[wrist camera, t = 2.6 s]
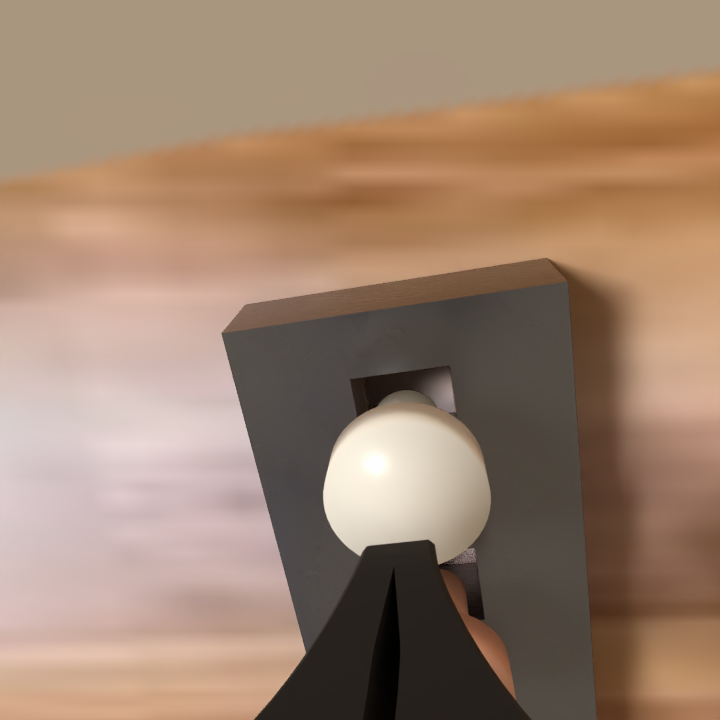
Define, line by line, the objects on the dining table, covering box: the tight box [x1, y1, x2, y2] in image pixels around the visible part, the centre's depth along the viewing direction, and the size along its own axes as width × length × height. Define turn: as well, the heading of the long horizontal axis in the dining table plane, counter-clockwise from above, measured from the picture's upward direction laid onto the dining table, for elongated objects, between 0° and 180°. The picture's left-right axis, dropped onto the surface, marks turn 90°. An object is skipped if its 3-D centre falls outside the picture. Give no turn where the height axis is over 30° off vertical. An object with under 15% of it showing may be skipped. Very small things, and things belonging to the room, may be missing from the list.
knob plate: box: [222, 258, 597, 720], centre depth 23 cm, size 20×10×3 cm, turn 10°
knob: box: [323, 390, 491, 565], centre depth 17 cm, size 4×4×4 cm
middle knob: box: [440, 569, 516, 700], centre depth 20 cm, size 4×4×4 cm
